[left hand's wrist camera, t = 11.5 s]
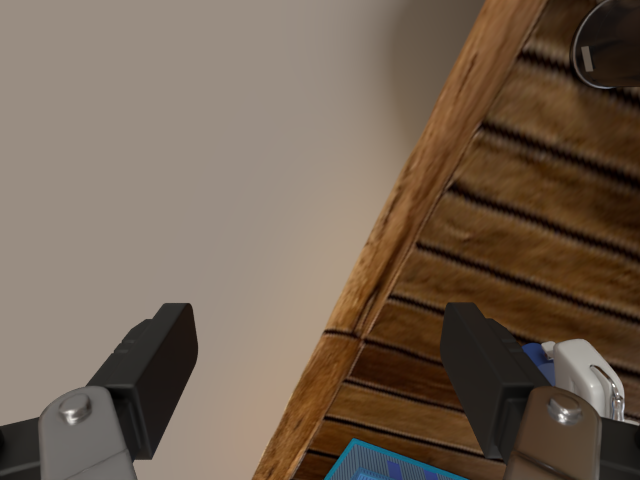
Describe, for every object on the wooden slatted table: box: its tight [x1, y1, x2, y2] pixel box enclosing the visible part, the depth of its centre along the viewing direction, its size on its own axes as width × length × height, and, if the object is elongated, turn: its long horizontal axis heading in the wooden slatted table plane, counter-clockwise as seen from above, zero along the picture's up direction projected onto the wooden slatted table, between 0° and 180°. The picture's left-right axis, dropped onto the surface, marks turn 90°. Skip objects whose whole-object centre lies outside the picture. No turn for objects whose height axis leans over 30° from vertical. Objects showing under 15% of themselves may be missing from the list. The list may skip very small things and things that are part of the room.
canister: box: [522, 343, 555, 386], centre depth 56 cm, size 5×5×5 cm
